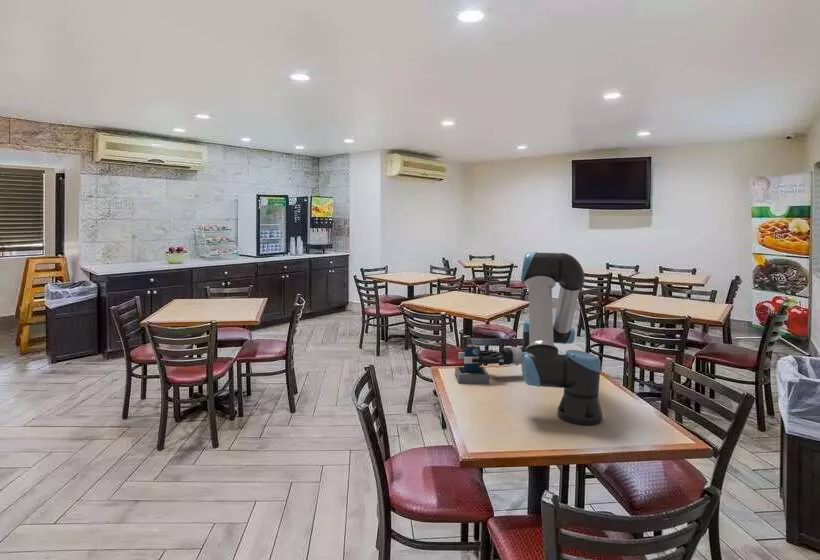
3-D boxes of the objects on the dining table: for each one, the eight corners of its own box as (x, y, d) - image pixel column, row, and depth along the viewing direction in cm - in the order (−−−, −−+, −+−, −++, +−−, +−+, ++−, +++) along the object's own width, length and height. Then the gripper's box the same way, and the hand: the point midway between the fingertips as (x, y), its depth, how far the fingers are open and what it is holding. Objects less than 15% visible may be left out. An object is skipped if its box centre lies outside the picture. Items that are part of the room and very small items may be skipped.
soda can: (481, 374, 217) (482, 347, 216) (465, 374, 217) (466, 347, 215) (478, 369, 224) (479, 343, 223) (462, 369, 224) (463, 343, 222)
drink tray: (489, 383, 214) (489, 375, 214) (458, 382, 214) (459, 374, 214) (483, 374, 227) (483, 366, 227) (455, 373, 227) (455, 366, 227)
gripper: (519, 370, 215) (468, 373, 209) (501, 358, 234) (454, 360, 229) (520, 353, 214) (469, 355, 209) (501, 342, 233) (454, 344, 228)
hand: (461, 357), depth 219 cm, fingers closed on soda can, 7 cm apart
